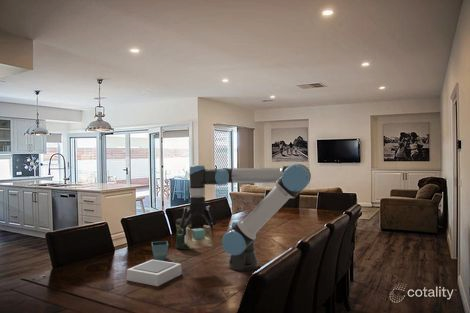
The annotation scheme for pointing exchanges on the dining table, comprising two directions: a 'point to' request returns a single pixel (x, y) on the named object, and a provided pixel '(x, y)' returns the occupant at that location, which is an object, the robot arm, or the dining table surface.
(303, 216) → the dining table surface
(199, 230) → the teal block
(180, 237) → the coffee jar
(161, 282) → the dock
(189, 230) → the tan plastic holder
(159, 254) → the flower pot
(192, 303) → the dining table surface
